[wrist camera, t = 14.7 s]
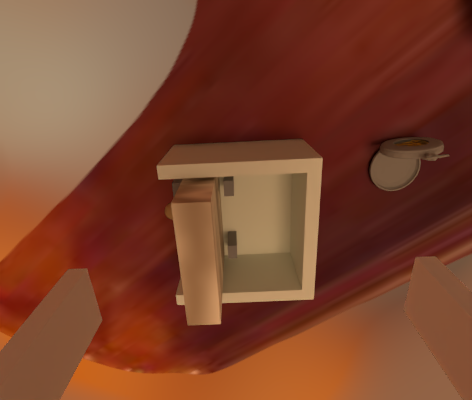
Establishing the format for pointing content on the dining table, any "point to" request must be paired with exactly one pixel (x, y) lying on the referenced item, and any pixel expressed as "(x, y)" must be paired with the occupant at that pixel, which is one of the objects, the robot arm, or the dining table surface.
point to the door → (199, 247)
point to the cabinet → (259, 213)
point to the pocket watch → (402, 160)
